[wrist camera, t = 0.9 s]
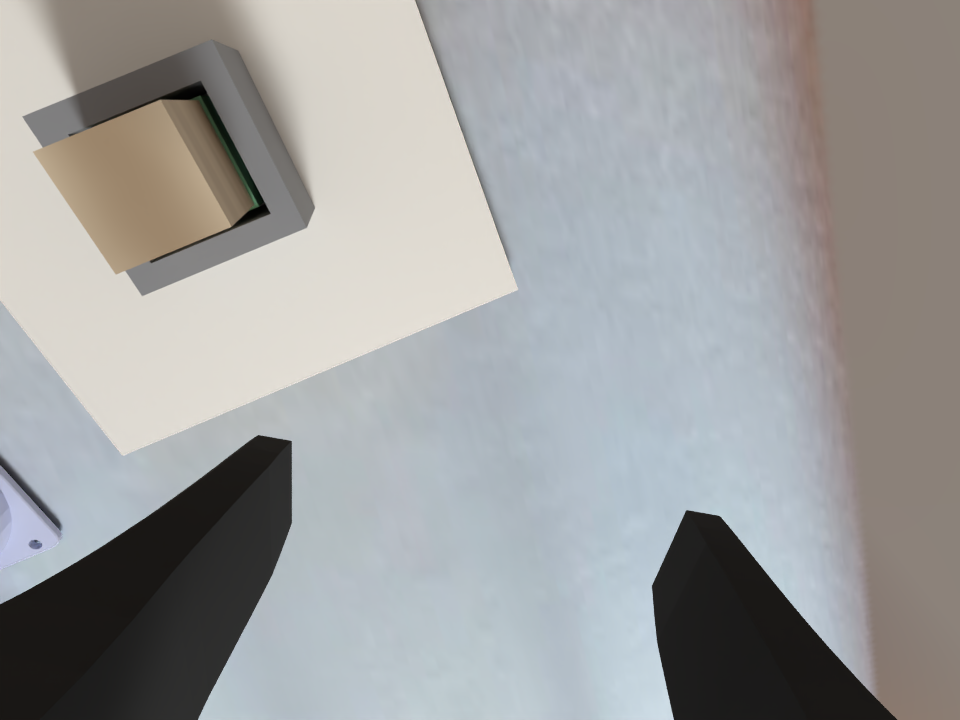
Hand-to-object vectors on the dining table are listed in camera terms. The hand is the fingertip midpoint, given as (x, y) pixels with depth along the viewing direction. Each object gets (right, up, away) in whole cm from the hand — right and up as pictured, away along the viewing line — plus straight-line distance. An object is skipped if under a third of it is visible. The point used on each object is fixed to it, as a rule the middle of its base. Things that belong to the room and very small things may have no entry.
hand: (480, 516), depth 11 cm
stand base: (-10, +10, +11) cm, 18 cm away
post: (-10, +10, +10) cm, 17 cm away
